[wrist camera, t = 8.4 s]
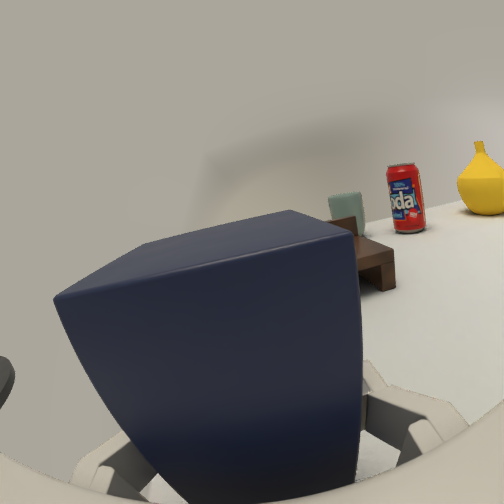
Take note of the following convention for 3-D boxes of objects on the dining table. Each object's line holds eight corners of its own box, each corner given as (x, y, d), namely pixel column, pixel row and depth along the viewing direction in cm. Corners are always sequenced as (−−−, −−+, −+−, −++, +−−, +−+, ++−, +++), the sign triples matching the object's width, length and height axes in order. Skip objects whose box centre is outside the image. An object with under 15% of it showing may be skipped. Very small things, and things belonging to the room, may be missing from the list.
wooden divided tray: (220, 332, 30) (201, 267, 29) (226, 295, 42) (213, 246, 40) (396, 287, 30) (391, 224, 28) (359, 263, 42) (352, 215, 40)
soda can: (432, 227, 51) (423, 161, 48) (415, 235, 48) (405, 162, 45) (406, 225, 58) (397, 164, 55) (388, 233, 56) (377, 166, 52)
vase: (449, 215, 58) (438, 144, 54) (476, 205, 61) (467, 144, 57) (503, 221, 40) (493, 137, 36) (521, 209, 44) (513, 140, 40)
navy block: (237, 542, 6) (49, 298, 4) (237, 470, 11) (142, 244, 8) (347, 524, 6) (355, 230, 4) (326, 454, 11) (291, 208, 8)
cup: (334, 236, 64) (327, 196, 62) (365, 231, 62) (358, 191, 60) (335, 244, 57) (327, 198, 55) (370, 239, 54) (363, 192, 52)
